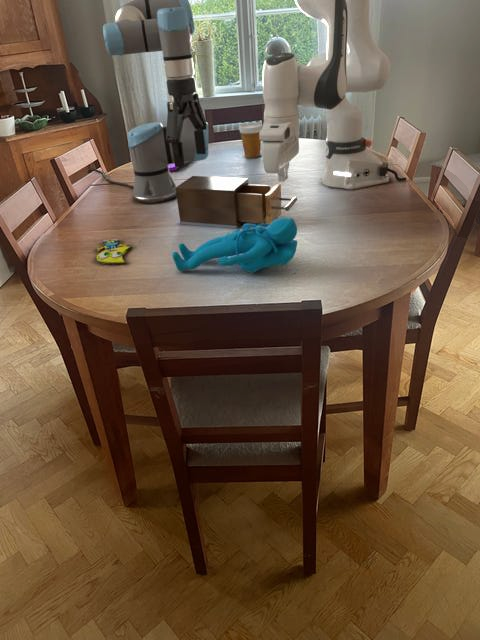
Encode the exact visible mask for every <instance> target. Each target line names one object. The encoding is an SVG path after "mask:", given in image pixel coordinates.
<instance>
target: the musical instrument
mask: <svg viewBox="0 0 480 640" xmlns="http://www.w3.org/2000/svg"><path fill="white" fill-rule="evenodd" d="M187 163H188V162H185V164H187ZM178 168H179V167H175V163H174V164H173V163H172V164H168V169H169V172H172V171H176V170H177V169H178Z"/></svg>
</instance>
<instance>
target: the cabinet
mask: <svg viewBox="0 0 480 640" xmlns="http://www.w3.org/2000/svg"><path fill="white" fill-rule="evenodd" d="M245 184H249V177H232V176H231V177H228V176H227V177H226V176H203V175H192V176H190V177H189V178H187V179H186V180H184V181H183V182H181V183H180V184H178V185H176V188H175V190H176V196H175V197H176V202H177V208H178V215H179V223H180V225H190V226H201V227H215V228H225V229H227V228H228V229H238V228H239V227H240V226H241V224H243V222H238V221H237V209H236V197H235V193H236V192H237V191H238V190H239V189H240V188H242V187H243V186H244V185H245Z"/></svg>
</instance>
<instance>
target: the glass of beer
mask: <svg viewBox="0 0 480 640" xmlns="http://www.w3.org/2000/svg"><path fill="white" fill-rule="evenodd" d="M262 127H263V126H262V124H261V123H245V124H241V125H240V126H239V133H240V137H241V142H242V147H243V152H244V157H245V158H248V159H249V158H251V159H252V158H253V159H254V158H258V157H260V156H261V147H262V141H260V137H259V134H260V131H261V129H262Z"/></svg>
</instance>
